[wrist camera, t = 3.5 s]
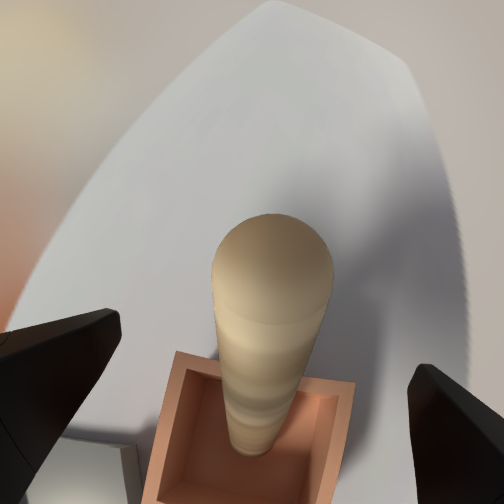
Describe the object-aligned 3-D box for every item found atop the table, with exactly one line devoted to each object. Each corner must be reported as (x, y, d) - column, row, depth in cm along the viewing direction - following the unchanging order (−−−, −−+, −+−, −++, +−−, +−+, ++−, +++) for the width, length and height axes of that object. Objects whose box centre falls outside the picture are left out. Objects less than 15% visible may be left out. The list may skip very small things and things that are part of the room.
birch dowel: (270, 457, 13) (285, 575, 2) (227, 449, 13) (125, 536, 3) (291, 350, 16) (348, 199, 5) (251, 344, 16) (221, 181, 5)
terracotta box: (304, 509, 12) (318, 543, 8) (173, 483, 13) (140, 506, 9) (330, 389, 15) (355, 382, 11) (200, 366, 16) (176, 350, 12)
